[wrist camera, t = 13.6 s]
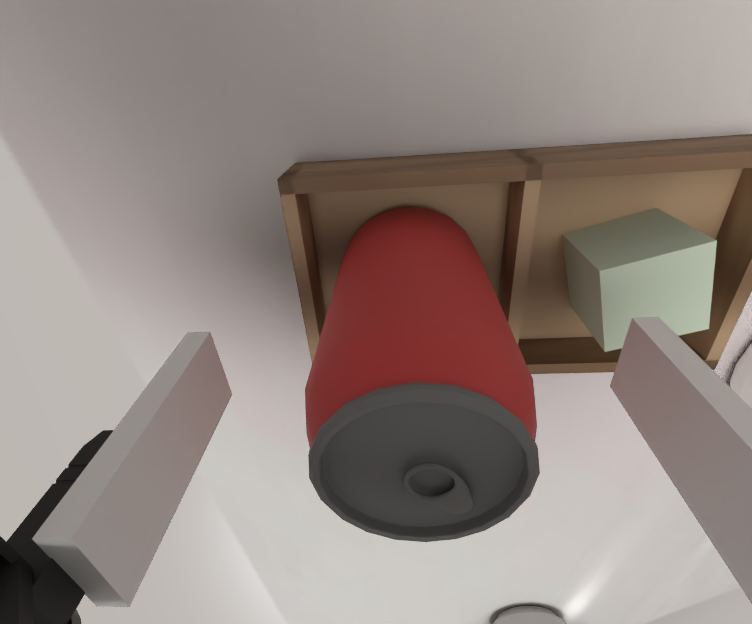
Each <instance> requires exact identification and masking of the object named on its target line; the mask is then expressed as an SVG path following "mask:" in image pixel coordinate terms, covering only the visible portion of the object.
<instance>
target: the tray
mask: <svg viewBox="0 0 752 624" xmlns="http://www.w3.org/2000/svg"><path fill="white" fill-rule="evenodd" d="M277 181H278V186H279V191H280V196H281V202H282V207H283V212H284V218H285V223H286V228H287V233H288V239H289V244H290V249H291V255H292V260H293V265H294V270H295V276H296V281H297V286H298V291H299V297H300V302H301V307H302V313H303V318H304V323H305V328H306V334H307V339H308V344H309V350H310V355H311V360H312V364H313V360H314V357H315V353H316V350H317V346H318V343H319V339H320V336H321V332H322V329H323V325H324V322H325V318H326V315H327V311H328V308H329V304H330V301H331V297H332V294H333V290H334V287H335V283H336V280H337V276H338V273H339V269H340V266H341V263H342V259H343V256H344V254H345V251H346V249H347V246H348V243H349V241H350V239H351V238H352V237H353V236H354V235H355V233H356V232H357V231H358V230H359V229H360V227H361V226H362V225H363V224H364V223H366V222H367V221H369V220H371V219H372V218H374V217H376V216H377V215H379V214H380V213H382V212H385V211H389V210H394V209H398V208H402V207H417V208H429V209H432V210H434V211H436V212H439V213H441V214H444V215H446V216H449V217H450V218H452V219H453V220H454V221H455V222H456V223H457V224H458V225H459V226H461V227H462V228H463V229H464V230H465V231H466V232H467V234H468V236H469V237H470V239H471V241H472V243H473V245H474V247H475V248H476V250H477V253H478V255H479V257H480V260H481V262H482V264H483V266H484V269H485V271H486V273H487V276H488V278H489V280H490V283H491V285H492V287H493V289H494V292H495V294H496V296H497V299H498V301H499V303H500V305H501V308H502V310H503V312H504V315H505V317H506V319H507V321H508V324H509V326H510V328H511V331H512V333H513V335H514V337H515V340H516V342H517V344H518V347H519V349H520V351H521V353H522V356H523V358H524V360H525V363H526V365H527V367H528V369H529V372H530V374H549V373H592V372H615V369H616V366H617V363H618V360H619V357H620V353H621V350H622V348H621V349H616V350H611V351H607V352H604V350H603V349H602V348H601V346H600V345H599V343H598V342H597V341H596V339H595V338H594V337H593V335H592V334H591V333H590V331H589V330H588V328H587V327H586V326H585V324H584V323H583V322H582V320H581V319H580V318H579V316H578V315H577V313H576V312H575V311H574V309H573V308H572V307H571V305H570V298H569V289H568V280H567V271H566V262H565V253H564V244H563V235H562V234H564V233H568V232H571V231H575V230H579V229H582V228H586V227H589V226H593V225H596V224H600V223H603V222H607V221H610V220H614V219H617V218H621V217H624V216H628V215H631V214H635V213H638V212H642V211H646V210H649V209H653V208H657V209H659V210H661V211H663V212H665V213H667V214H669V215H671V216H672V217H674V218H676V219H678V220H680V221H682V222H684V223H685V224H687V225H689V226H691V227H693V228H695V229H697V230H698V231H700V232H702V233H704V234H706V235H708V236H710V237H711V238H713V239H715V240H717V246H716V257H715V268H714V279H713V289H712V300H711V311H710V322H709V329H706V330H702V331H697V332H693V333H688V334H684V335H679V337H680V338H681V339H682V340H683V341H684V342H685V343H686V344H687V345H688V346H689V347H690V348H691V349H692V350H693V351H694V352H695V353H696V354H697V355H698V356H699V357H700V358H701V359H702V360H703V361H704V362H705V363H706V364H707V365H708V366H709V367H710V368H711V369H712V370H715V368H716V366H717V364H718V361H719V359H720V357H721V355H722V353H723V351H724V349H725V347H726V344H727V342H728V340H729V338H730V336H731V334H732V332H733V329H734V327H735V325H736V323H737V321H738V319H739V317H740V315H741V312H742V310H743V308H744V306H745V304H746V302H747V300H748V298H749V295H750V293H751V291H752V134H751V135H735V136H719V137H703V138H687V139H671V140H656V141H640V142H624V143H608V144H592V145H576V146H560V147H545V148H529V149H513V150H497V151H481V152H465V153H450V154H434V155H418V156H402V157H386V158H370V159H355V160H339V161H323V162H307V163H295V164H294V165H293V166H291V167H290V168H289V169H288V170H287V171H286V172H285V173H284V174H283V175H282V176H281V177H280V178H279V179H278V180H277Z"/></svg>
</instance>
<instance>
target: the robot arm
mask: <svg viewBox="0 0 752 624" xmlns="http://www.w3.org/2000/svg"><path fill="white" fill-rule="evenodd" d="M610 387H611V388H612V390H613V392H614V393H615V395H616V396H617V398H618V399H619V401H620V402H621V404H622V405H623V407H624V408H625V410H626V411H627V413H628V415H629V416H630V418H631V419H632V421H633V422H634V424H635V425H636V427H637V428H638V430H639V431H640V433H641V434H642V436H643V438H644V439H645V441H646V442H647V444H648V445H649V447H650V448H651V450H652V451H653V453H654V454H655V456H656V457H657V459H658V461H659V462H660V464H661V465H662V467H663V468H664V470H665V471H666V473H667V474H668V476H669V477H670V479H671V480H672V482H673V484H674V485H675V487H676V488H677V490H678V491H679V493H680V494H681V496H682V497H683V499H684V500H685V502H686V503H687V505H688V507H689V508H690V510H691V511H692V513H693V514H694V516H695V517H696V519H697V520H698V522H699V523H700V525H701V526H702V528H703V530H704V531H705V533H706V534H707V536H708V537H709V539H710V540H711V542H712V543H713V545H714V546H715V548H716V549H717V551H718V553H719V554H720V556H721V557H722V559H723V560H724V562H725V563H726V565H727V566H728V568H729V569H730V571H731V572H732V574H733V576H734V577H735V579H736V580H737V582H738V583H739V585H740V586H741V588H742V589H743V591H744V592H745V594H746V595H747V597H748V599H749V600H750V602H751V603H752V408H751V407H750V406H749V405H747V404H746V403H745V402H744V401H743V400H742V399H741V398H740V397H739V396H738V395H737V394H736V393H735V392H734V391H733V390H732V389H731V388H730V387H729V386H728V385H727V384H726V383H725V382H724V381H723V380H722V379H721V378H720V377H719V376H718V375H717V374H716V373H715V372H714V371H713V370H712V369H711V368H710V367H709V366H708V365H707V364H706V363H705V362H704V361H703V360H702V359H701V358H700V357H699V356H698V355H697V354H696V353H695V352H694V351H693V350H692V349H691V348H690V347H689V346H688V345H687V344H686V343H685V342H684V341H683V340H682V339H681V338H680V337H679V336H678V335H677V334H676V333H674V332H673V331H672V330H671V329H670V328H669V327H668V326H667V325H666V324H665V323H664V322H663V321H662V320H661V319H660V318H659V317H640V318H632V319H631V323H630V326H629V329H628V332H627V335H626V338H625V341H624V344H623V347H622V350H621V353H620V357H619V360H618V363H617V366H616V369H615V372H614V375H613V378H612V381H611V384H610ZM231 396H232V392H231V390H230V387H229V384H228V381H227V378H226V375H225V373H224V370H223V367H222V364H221V361H220V358H219V355H218V353H217V350H216V347H215V344H214V341H213V338H212V336H211V333H210V332H193V333H187V334H186V335H185V337H184V338H183V339H182V341H181V342H180V343H179V345H178V346H177V347H176V349H175V350H174V351H173V353H172V354H171V355H170V356H169V358H168V359H167V360H166V362H165V363H164V364H163V366H162V367H161V368H160V370H159V371H158V372H157V374H156V375H155V376H154V378H153V379H152V380H151V382H150V383H149V384H148V386H147V387H146V388H145V390H144V391H143V392H142V394H141V395H140V396H139V398H138V399H137V400H136V402H135V403H134V404H133V405H132V407H131V408H130V409H129V411H128V412H127V413H126V415H125V416H124V418H123V419H122V420H121V421H120V423H119V424H118V425H117V427H116V428H115V429H114V430H109V431H108V430H107V431H102V432H101V433H99V434H98V435H97V436H96V437H95V438H93V439H92V440H91V441H89V442H88V443H87V444H86V445H84V446H83V447H82V448H81V450H80V451H79V452H78V453H77V455H76V456H75V457H74V459H73V460H72V461H71V462H70V463H69V467H68V468H65V470H64V471H63V472H62V473H61V475H60V476H59V477H58V478H57V480H56V483H55V484H52V486H51V487H50V488H49V489H48V491H47V492H46V493H45V495H44V496H43V497H42V498H41V499H40V501H39V502H38V503H37V505H36V506H35V507H34V508H33V509H32V511H31V512H30V513H29V515H28V516H27V517H26V518H25V519H24V521H23V522H22V523H21V524H20V526H19V527H18V528H17V530H16V531H15V532H14V533H13V534H12V536H11V537H10V538H9V539H8V541H7V542H6V541H5V540H4V539H3V538H2V537H0V624H81V619H80V616H79V614H78V612H77V610H76V608H77V606H78V605H79V603H80V601H81V599H82V597H83V596H84V594H85V595H86V596H87V597H88V598H89V599H90V600H91V601H92V602H93V603H94V604H95V605H96V606H115V607H130V604H131V602H132V600H133V598H134V596H135V594H136V592H137V590H138V588H139V586H140V584H141V582H142V580H143V578H144V576H145V573H146V571H147V569H148V567H149V565H150V563H151V561H152V559H153V557H154V555H155V553H156V551H157V549H158V547H159V545H160V542H161V541H162V538H163V536H164V534H165V532H166V530H167V528H168V526H169V524H170V522H171V519H172V518H173V516H174V514H175V512H176V510H177V507H178V505H179V503H180V501H181V499H182V497H183V495H184V493H185V491H186V489H187V487H188V485H189V483H190V481H191V478H192V476H193V474H194V472H195V470H196V468H197V466H198V464H199V462H200V460H201V458H202V456H203V454H204V452H205V450H206V448H207V445H208V443H209V441H210V439H211V437H212V435H213V433H214V431H215V429H216V427H217V425H218V423H219V421H220V419H221V417H222V415H223V412H224V410H225V408H226V406H227V404H228V402H229V400H230V398H231Z"/></svg>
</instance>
